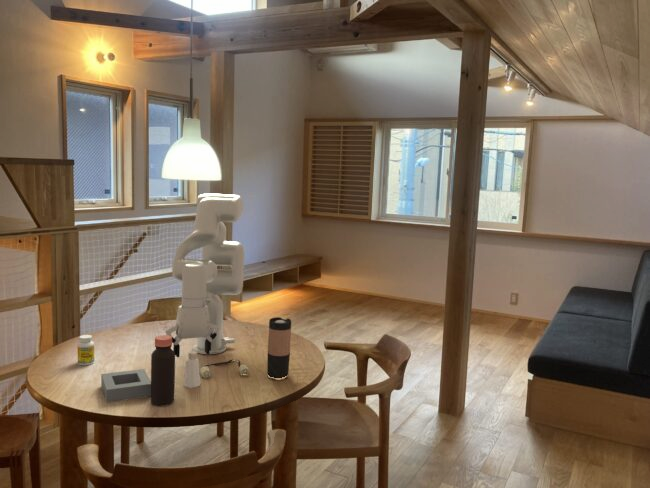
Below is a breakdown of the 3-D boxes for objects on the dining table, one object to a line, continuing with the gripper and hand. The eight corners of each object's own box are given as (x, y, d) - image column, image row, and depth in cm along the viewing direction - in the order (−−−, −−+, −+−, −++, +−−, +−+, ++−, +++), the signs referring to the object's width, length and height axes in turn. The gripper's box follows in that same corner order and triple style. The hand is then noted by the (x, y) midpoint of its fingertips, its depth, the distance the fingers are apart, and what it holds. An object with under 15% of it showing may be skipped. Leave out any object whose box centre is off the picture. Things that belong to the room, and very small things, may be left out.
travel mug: (271, 381, 185) (274, 324, 182) (263, 373, 192) (265, 318, 189) (292, 379, 189) (295, 322, 186) (283, 371, 195) (286, 316, 192)
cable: (196, 364, 198) (197, 354, 198) (241, 361, 203) (242, 352, 203) (201, 380, 184) (201, 370, 183) (249, 377, 189) (250, 368, 188)
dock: (144, 380, 180) (144, 368, 179) (151, 396, 169) (152, 383, 168) (101, 386, 174) (101, 374, 173) (106, 402, 162) (106, 389, 162)
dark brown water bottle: (145, 403, 163) (146, 338, 161) (160, 395, 170) (161, 332, 167) (164, 408, 161) (165, 342, 158) (178, 399, 167) (180, 336, 165)
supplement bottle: (92, 359, 196) (92, 333, 194) (95, 364, 191) (95, 337, 190) (76, 361, 193) (76, 335, 191) (79, 366, 188) (78, 339, 187)
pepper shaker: (184, 388, 175) (185, 355, 174) (182, 382, 180) (182, 350, 179) (201, 387, 178) (202, 354, 176) (198, 380, 182) (199, 348, 181)
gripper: (216, 298, 182) (214, 348, 184) (163, 301, 174) (162, 353, 176) (223, 303, 176) (221, 355, 178) (168, 306, 167) (167, 361, 169)
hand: (192, 354), depth 177 cm, fingers open, 9 cm apart
